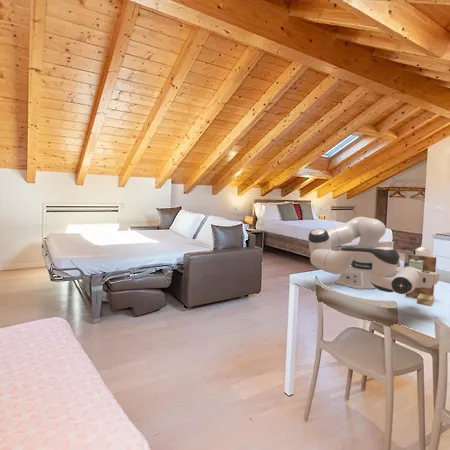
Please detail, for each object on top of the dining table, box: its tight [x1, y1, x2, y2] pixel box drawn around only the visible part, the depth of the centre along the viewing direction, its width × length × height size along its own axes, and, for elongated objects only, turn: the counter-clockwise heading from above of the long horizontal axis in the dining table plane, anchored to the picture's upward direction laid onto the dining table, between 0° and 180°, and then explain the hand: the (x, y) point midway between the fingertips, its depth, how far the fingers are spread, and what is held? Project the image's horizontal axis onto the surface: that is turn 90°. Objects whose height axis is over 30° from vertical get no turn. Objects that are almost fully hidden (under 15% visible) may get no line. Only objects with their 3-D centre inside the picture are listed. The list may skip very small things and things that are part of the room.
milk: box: [415, 243, 432, 257], centre depth 203 cm, size 6×6×22 cm
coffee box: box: [403, 247, 417, 268], centre depth 221 cm, size 9×6×16 cm
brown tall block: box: [405, 254, 437, 307], centre depth 172 cm, size 12×16×22 cm
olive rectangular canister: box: [409, 257, 423, 270], centre depth 159 cm, size 5×5×14 cm
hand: (415, 270), depth 160 cm, fingers closed on olive rectangular canister, 5 cm apart
